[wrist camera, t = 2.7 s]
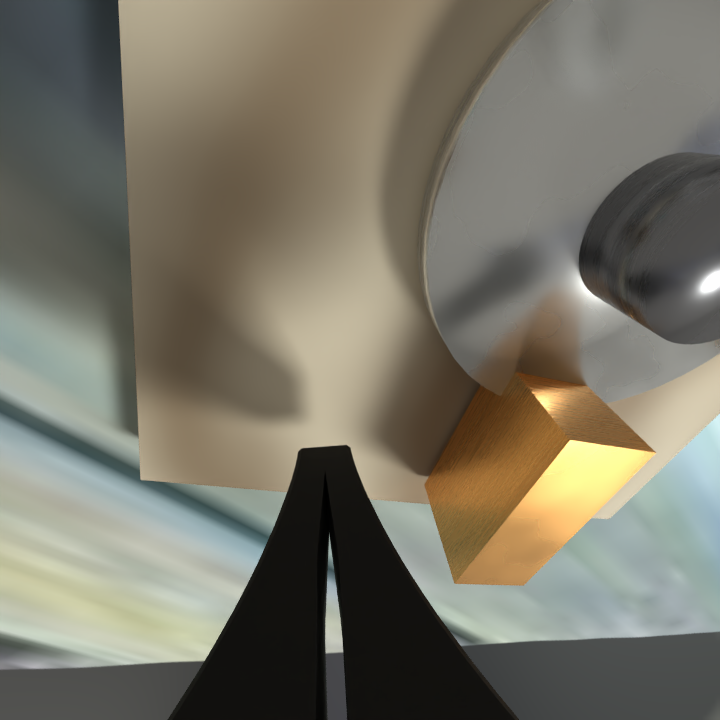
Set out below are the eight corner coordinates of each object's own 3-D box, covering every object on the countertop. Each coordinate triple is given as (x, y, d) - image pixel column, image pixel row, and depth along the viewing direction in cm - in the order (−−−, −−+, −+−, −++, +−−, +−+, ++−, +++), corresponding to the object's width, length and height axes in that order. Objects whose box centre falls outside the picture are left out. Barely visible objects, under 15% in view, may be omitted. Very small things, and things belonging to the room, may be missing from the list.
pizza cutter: (567, -227, 5) (902, -684, 2) (962, 44, 8) (1372, -2, 5) (324, 475, 13) (328, 580, 10) (560, 498, 15) (619, 588, 12)
